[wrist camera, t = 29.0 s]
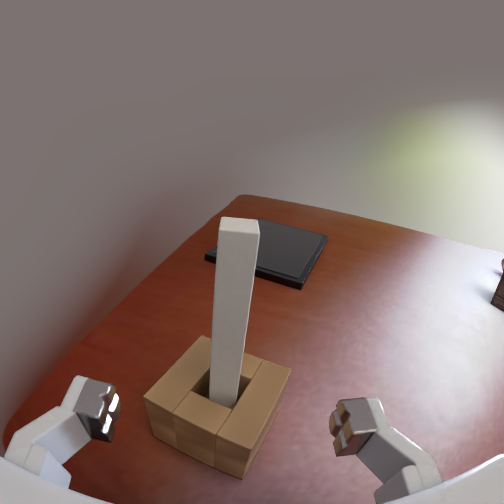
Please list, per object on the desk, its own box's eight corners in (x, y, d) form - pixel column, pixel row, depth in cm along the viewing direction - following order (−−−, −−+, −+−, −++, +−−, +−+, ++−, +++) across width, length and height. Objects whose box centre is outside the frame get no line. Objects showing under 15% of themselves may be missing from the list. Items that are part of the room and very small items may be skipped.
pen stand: (153, 436, 17) (142, 396, 14) (200, 379, 22) (201, 334, 20) (242, 480, 14) (251, 449, 12) (278, 411, 20) (291, 369, 18)
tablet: (300, 290, 37) (302, 282, 37) (204, 260, 42) (205, 253, 41) (327, 240, 54) (328, 235, 54) (257, 222, 59) (258, 217, 58)
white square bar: (208, 434, 18) (218, 229, 11) (209, 417, 19) (221, 215, 13) (231, 436, 18) (260, 232, 11) (231, 418, 19) (258, 219, 13)
